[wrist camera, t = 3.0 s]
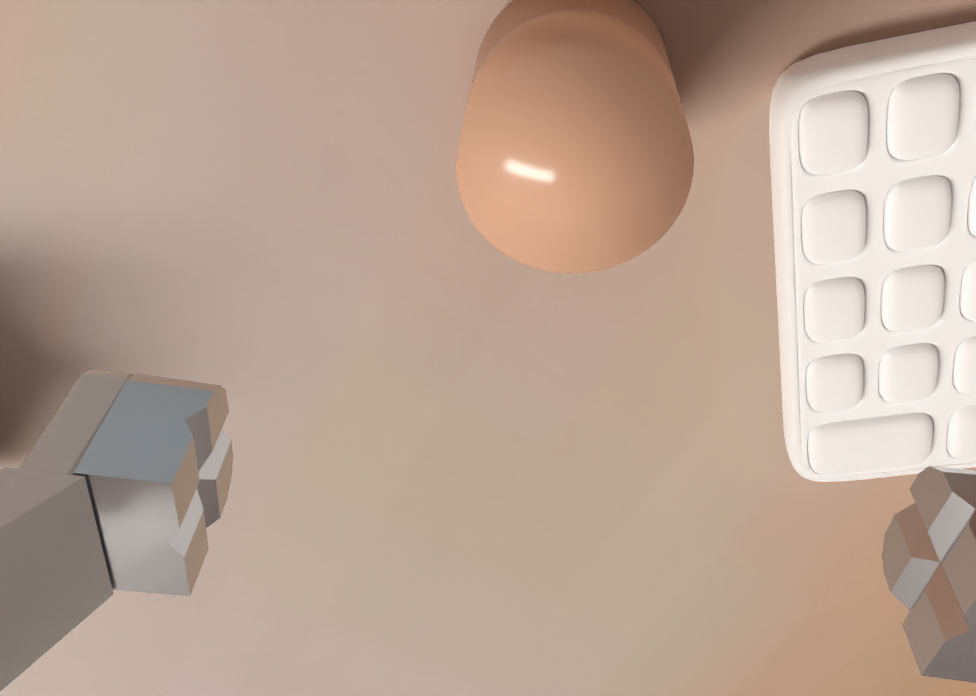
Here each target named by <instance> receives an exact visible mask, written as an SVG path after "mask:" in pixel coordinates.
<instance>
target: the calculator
mask: <svg viewBox="0 0 976 696" xmlns="http://www.w3.org/2000/svg"><path fill="white" fill-rule="evenodd" d="M954 76H955V77H954ZM956 79H957V80H956ZM957 81H958V82H957ZM864 96H865V97H864ZM865 98H866V99H865ZM867 106H868V107H867ZM769 140H770V163H771V184H772V204H773V224H774V244H775V264H776V285H777V305H778V325H779V345H780V365H781V385H782V406H783V423H784V435H785V443H786V448H787V451H788V454H789V457H790V461H791V464H792V465H793V467H794V469H795V470H796V471H797V472H798V473H799V474H800V475H801V476H802V477H803V478H806V479H809V480H812V481H821V482H837V481H851V480H862V479H872V478H881V477H890V476H900V475H909V474H918V473H920V472H922V471H923V470H924V469H926V468H927V467H928V466H935V467H944V468H954V469H963V468H972V467H976V21H973V22H968V23H963V24H958V25H953V26H948V27H943V28H938V29H933V30H928V31H923V32H918V33H912V34H907V35H902V36H897V37H892V38H887V39H882V40H877V41H872V42H868V43H863V44H858V45H853V46H848V47H844V48H840V49H836V50H832V51H828V52H824V53H820V54H815V55H813V56H810V57H808V58H805V59H803V60H800V61H798V62H796V63H793V64H792V65H791V66H790V67H788V68H787V69H786V70H785V71H784V72H783V73H782V74H780V76H779V78H778V80H777V82H776V84H775V87H774V89H773V91H772V98H771V104H770V115H769ZM892 156H893V157H892ZM894 157H895V158H894ZM802 166H803V167H802ZM804 169H805V170H804ZM948 180H949V181H948ZM949 182H950V183H949ZM864 198H865V199H864ZM865 203H866V204H865ZM970 233H971V234H970ZM885 243H886V244H885ZM887 246H888V247H887ZM805 256H806V257H805ZM941 268H942V269H941ZM942 270H943V271H942ZM862 282H863V283H862ZM863 286H864V287H863ZM962 315H963V316H962ZM882 323H883V324H882ZM884 326H885V327H884ZM806 333H807V334H806ZM808 336H809V337H808ZM936 348H937V349H936ZM861 359H862V360H861ZM862 363H863V364H862ZM953 385H954V386H953ZM879 393H880V394H879ZM881 396H882V397H881ZM807 401H808V402H807ZM808 403H809V404H808ZM931 419H932V420H931ZM808 461H809V462H808Z"/></svg>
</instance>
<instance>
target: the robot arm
mask: <svg viewBox="0 0 976 696" xmlns="http://www.w3.org/2000/svg"><path fill="white" fill-rule="evenodd" d="M228 412H229V410H228V403H227V396H226V390H225V389H224V388H223V387H222V386H220V385H214V384H206V383H199V382H192V381H184V380H177V379H170V378H163V377H155V376H148V375H141V374H135V375H132V374H126V373H119V372H112V371H105V370H98V369H90V370H88V371H87V372H85V373H83V374H82V375H81V376H80V377H79V378H78V379H77V381H76V382H75V384H74V386H73V387H72V389H71V390H70V392H69V393H68V395H67V396H66V398H65V399H64V401H63V402H62V404H61V405H60V407H59V409H58V410H57V412H56V413H55V415H54V416H53V418H52V419H51V421H50V422H49V424H48V425H47V427H46V428H45V430H44V431H43V433H42V435H41V436H40V438H39V439H38V441H37V442H36V444H35V445H34V447H33V448H32V450H31V451H30V453H29V454H28V456H27V457H26V459H25V461H24V462H23V464H22V465H21V467H20V468H19V469H15V468H4V469H2V470H0V691H1V690H2V689H4V688H5V687H6V686H7V685H8V684H9V683H11V682H12V681H13V680H14V679H15V678H16V677H18V676H19V675H20V674H21V673H22V672H23V671H25V670H26V669H27V668H28V667H29V666H30V665H32V664H33V663H34V662H35V661H36V660H37V659H39V658H40V657H41V656H42V655H43V654H44V653H45V652H47V651H48V650H49V649H50V648H51V647H52V646H54V645H55V644H56V643H57V642H58V641H59V640H61V639H62V638H63V637H64V636H65V635H66V634H68V633H69V632H70V631H71V630H72V629H73V628H75V627H76V626H77V625H78V624H79V623H80V622H82V621H83V620H84V619H85V618H86V617H87V616H89V615H90V614H91V613H92V612H93V611H94V610H96V609H97V608H98V607H99V606H100V605H101V604H103V603H104V602H105V601H106V600H107V599H108V598H110V597H111V596H112V595H113V590H123V591H135V592H148V593H160V594H172V595H184V596H190V595H191V592H192V590H193V587H194V585H195V582H196V579H197V577H198V574H199V572H200V569H201V566H202V564H203V561H204V559H205V556H206V554H207V551H208V541H207V533H206V528H207V527H208V526H209V525H211V524H212V523H214V522H215V521H216V520H218V519H219V518H220V517H221V514H222V511H223V508H224V505H225V503H226V500H227V496H228V491H229V486H230V481H231V476H232V462H233V452H232V440H231V439H230V438H229V437H228V436H227V435H226V433H225V432H224V431H223V430H222V427H223V424H224V422H225V419H226V417H227V415H228ZM910 491H911V493H912V496H913V498H914V501H915V503H914V504H912V505H911V506H909V507H907V508H905V509H904V510H902V511H900V512H898V513H897V514H895V515H894V517H893V519H892V521H891V523H890V525H889V527H888V529H887V531H886V533H885V537H884V545H883V553H882V559H883V567H884V574H885V577H886V580H887V583H888V586H889V589H890V592H891V593H892V594H893V595H894V596H895V597H896V598H897V599H899V600H900V601H901V602H902V603H903V604H904V605H905V606H906V607H907V608H908V609H909V612H908V614H907V616H906V619H905V621H904V623H903V627H904V630H905V633H906V635H907V638H908V641H909V644H910V646H911V649H912V652H913V654H914V657H915V660H916V662H917V665H918V668H919V670H920V673H921V675H922V676H930V677H937V678H944V679H952V680H959V681H966V682H974V683H976V471H973V470H963V469H954V468H944V467H935V466H928V467H927V468H926V469H924V470H923V471H922V472H920V473H919V474H918V476H917V477H916V479H915V481H914V482H913V484H912V486H911V487H910Z"/></svg>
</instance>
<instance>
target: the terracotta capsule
mask: <svg viewBox="0 0 976 696" xmlns="http://www.w3.org/2000/svg"><path fill="white" fill-rule="evenodd" d="M693 166H694V156H693V146H692V141H691V137H690V133H689V129H688V126H687V122H686V119H685V115H684V112H683V108H682V105H681V101H680V98H679V94H678V91H677V87H676V84H675V80H674V77H673V73H672V70H671V66H670V63H669V59H668V56H667V52H666V49H665V45H664V42H663V40H662V37H661V35H660V32H659V30H658V29H657V27H656V25H655V23H654V22H653V20H652V19H651V18H650V16H649V15H648V14H647V12H646V11H645V10H644V9H643V8H642V7H641V6H640V5H639V4H638V3H637V2H636V1H634V0H514V1H513V2H511V3H510V4H509V5H508V6H507V7H506V8H505V9H504V10H503V11H502V12H501V13H500V14H499V15H498V17H497V18H496V19H495V20H494V21H493V23H492V24H491V26H490V28H489V29H488V31H487V32H486V35H485V37H484V39H483V41H482V43H481V46H480V49H479V53H478V56H477V61H476V65H475V70H474V75H473V80H472V84H471V89H470V94H469V99H468V103H467V108H466V113H465V118H464V122H463V127H462V132H461V137H460V141H459V147H458V153H457V160H456V175H457V183H458V189H459V193H460V196H461V200H462V202H463V205H464V207H465V210H466V212H467V214H468V216H469V217H470V219H471V221H472V222H473V224H474V225H475V227H476V228H477V229H478V230H479V232H480V233H481V234H482V235H483V236H484V237H485V238H486V239H487V240H488V241H489V242H490V243H491V244H492V245H493V246H494V247H496V248H497V249H498V250H500V251H501V252H502V253H504V254H505V255H507V256H509V257H510V258H512V259H514V260H516V261H518V262H520V263H523V264H525V265H527V266H530V267H533V268H537V269H540V270H544V271H550V272H555V273H569V274H572V273H587V272H594V271H600V270H603V269H607V268H611V267H614V266H616V265H619V264H622V263H624V262H626V261H628V260H630V259H632V258H634V257H636V256H638V255H639V254H641V253H642V252H644V251H645V250H647V249H648V248H650V247H651V246H652V245H653V244H654V243H656V242H657V241H658V240H659V239H660V238H661V237H662V236H663V235H664V234H665V233H666V232H667V230H668V229H669V228H670V227H671V226H672V224H673V223H674V221H675V220H676V218H677V217H678V216H679V214H680V212H681V210H682V208H683V206H684V204H685V202H686V199H687V196H688V194H689V191H690V187H691V182H692V177H693Z"/></svg>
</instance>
